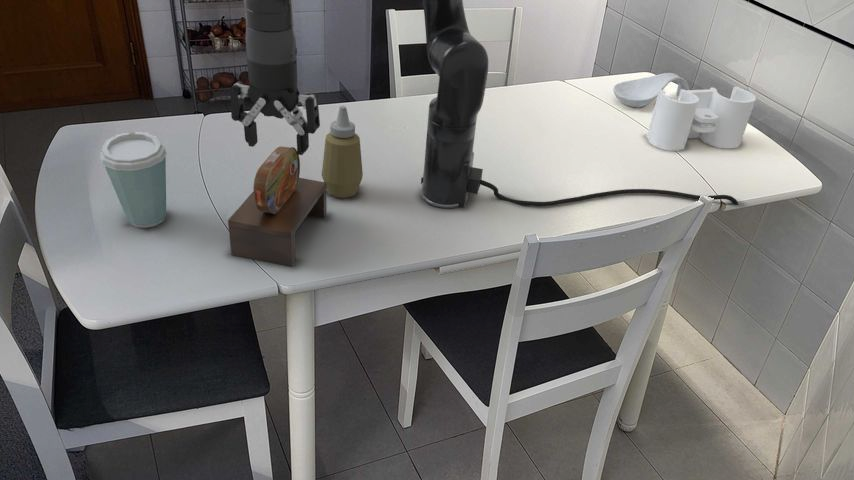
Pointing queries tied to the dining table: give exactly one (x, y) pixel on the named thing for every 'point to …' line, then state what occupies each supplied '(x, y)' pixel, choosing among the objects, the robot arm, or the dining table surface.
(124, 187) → the disposable coffee cup
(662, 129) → the bracket
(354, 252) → the dining table surface
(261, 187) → the tin
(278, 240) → the stand
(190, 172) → the dining table surface
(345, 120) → the squeeze bottle
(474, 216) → the dining table surface
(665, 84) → the spoon rest
